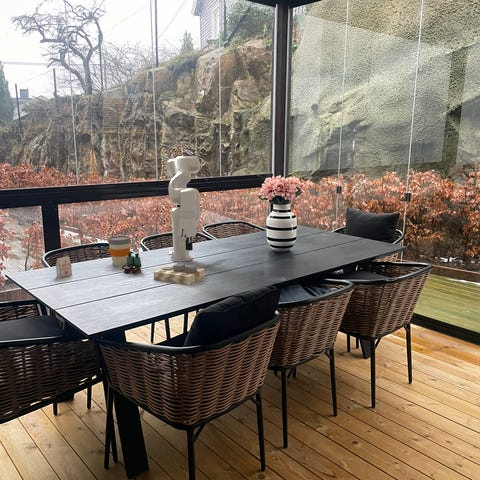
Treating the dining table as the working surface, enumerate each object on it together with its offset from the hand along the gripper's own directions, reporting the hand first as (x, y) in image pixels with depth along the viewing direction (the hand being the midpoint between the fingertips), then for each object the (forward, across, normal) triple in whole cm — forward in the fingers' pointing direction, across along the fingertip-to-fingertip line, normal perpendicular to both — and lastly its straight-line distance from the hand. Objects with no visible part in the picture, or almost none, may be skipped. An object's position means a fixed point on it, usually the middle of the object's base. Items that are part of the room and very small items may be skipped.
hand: (189, 250), depth 246 cm
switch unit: (+15, 0, -6) cm, 17 cm away
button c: (+13, 0, +1) cm, 13 cm away
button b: (+12, 0, -6) cm, 14 cm away
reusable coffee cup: (+15, -12, -54) cm, 58 cm away
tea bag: (+16, +23, -64) cm, 70 cm away
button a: (+15, 0, -13) cm, 20 cm away
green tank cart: (+16, +2, -35) cm, 39 cm away
